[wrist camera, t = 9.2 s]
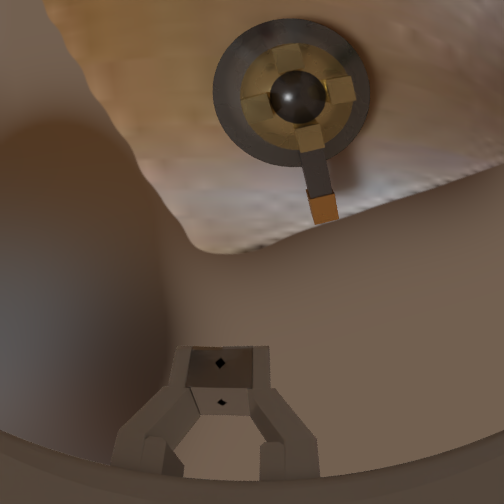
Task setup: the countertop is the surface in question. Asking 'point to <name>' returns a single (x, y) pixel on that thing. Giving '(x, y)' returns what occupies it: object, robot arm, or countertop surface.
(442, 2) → the countertop surface
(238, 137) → the plate
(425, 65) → the countertop surface
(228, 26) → the countertop surface
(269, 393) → the robot arm
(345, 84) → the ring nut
